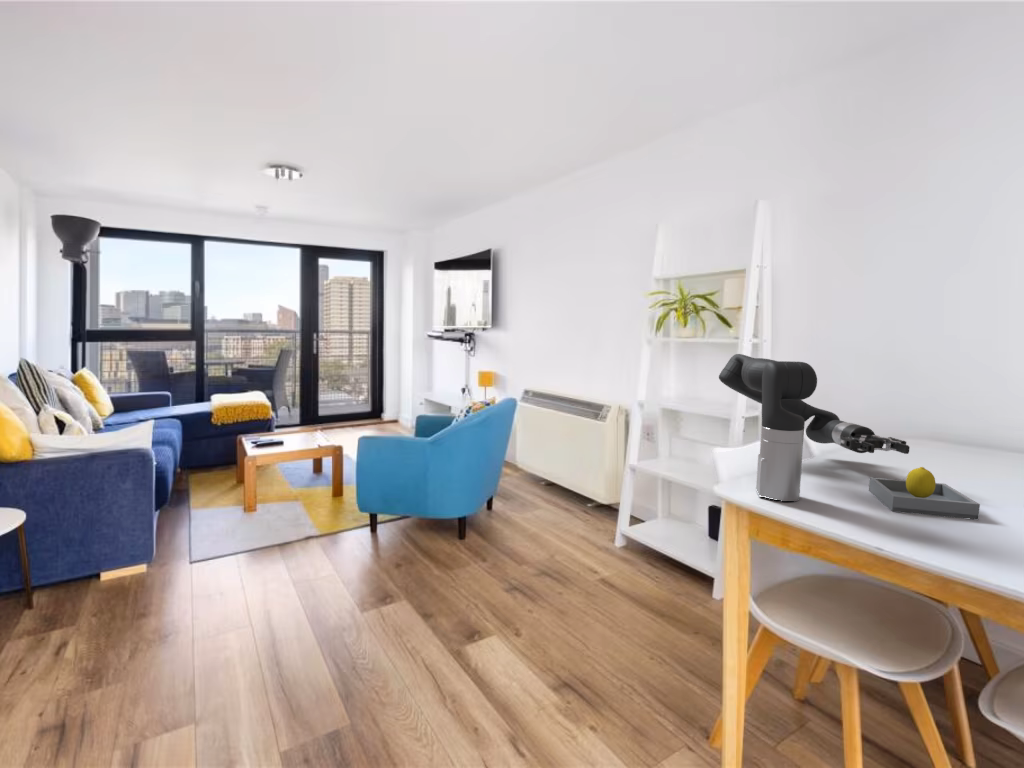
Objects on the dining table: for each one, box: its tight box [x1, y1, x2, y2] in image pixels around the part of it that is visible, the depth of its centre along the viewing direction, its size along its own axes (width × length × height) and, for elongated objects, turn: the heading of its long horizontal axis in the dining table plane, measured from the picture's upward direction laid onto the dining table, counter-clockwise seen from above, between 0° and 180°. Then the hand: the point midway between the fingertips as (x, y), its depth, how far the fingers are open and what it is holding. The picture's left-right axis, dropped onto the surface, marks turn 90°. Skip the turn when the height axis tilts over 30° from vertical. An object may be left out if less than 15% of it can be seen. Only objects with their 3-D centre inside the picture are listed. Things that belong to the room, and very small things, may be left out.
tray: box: [868, 477, 981, 520], centre depth 124 cm, size 16×16×4 cm
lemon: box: [905, 466, 937, 498], centre depth 124 cm, size 6×6×8 cm
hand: (890, 449), depth 134 cm, fingers open, 8 cm apart
